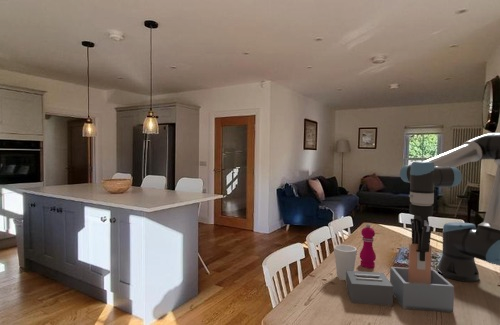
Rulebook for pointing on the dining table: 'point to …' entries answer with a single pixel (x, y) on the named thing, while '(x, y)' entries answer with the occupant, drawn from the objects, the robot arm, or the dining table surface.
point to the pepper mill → (367, 248)
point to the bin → (422, 291)
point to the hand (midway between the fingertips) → (419, 267)
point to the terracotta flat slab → (413, 272)
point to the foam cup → (344, 259)
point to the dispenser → (369, 288)
